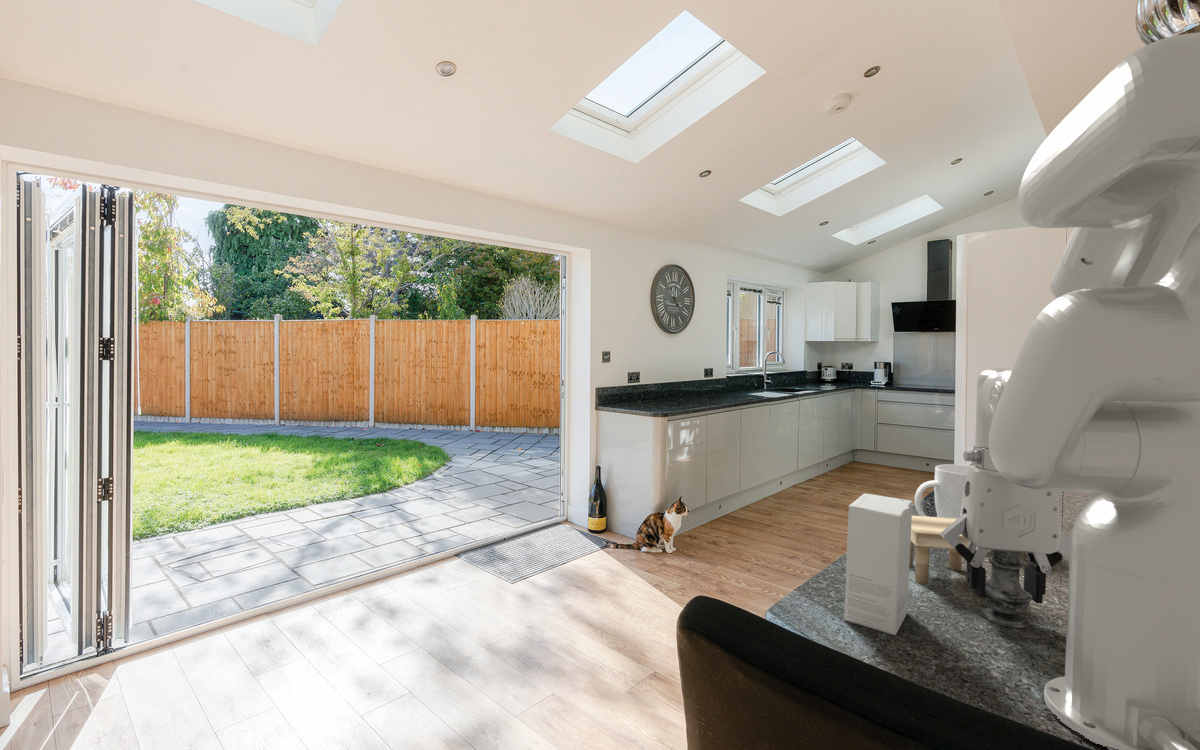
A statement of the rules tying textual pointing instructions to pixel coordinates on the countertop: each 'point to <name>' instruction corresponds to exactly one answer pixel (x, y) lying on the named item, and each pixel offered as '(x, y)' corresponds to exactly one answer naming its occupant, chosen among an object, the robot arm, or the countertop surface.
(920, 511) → the mug
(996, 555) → the salt shaker
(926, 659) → the countertop surface
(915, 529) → the stool
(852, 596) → the skincare box
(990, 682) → the countertop surface
